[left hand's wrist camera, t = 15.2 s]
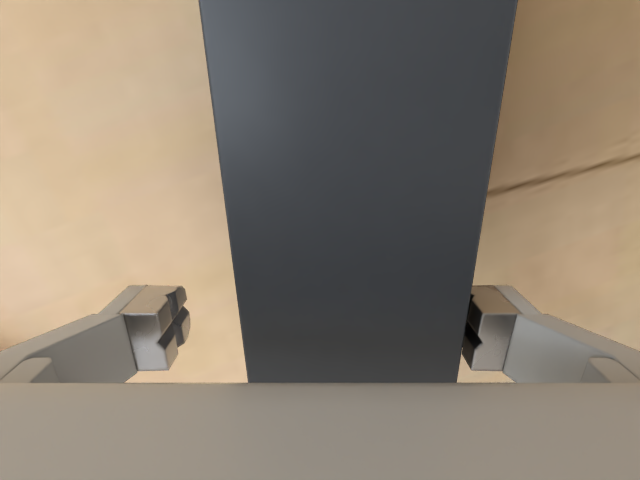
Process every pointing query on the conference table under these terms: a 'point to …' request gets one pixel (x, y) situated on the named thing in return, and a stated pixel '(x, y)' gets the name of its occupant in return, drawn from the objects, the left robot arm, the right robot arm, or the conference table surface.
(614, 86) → the conference table surface
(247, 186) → the box
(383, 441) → the left robot arm
